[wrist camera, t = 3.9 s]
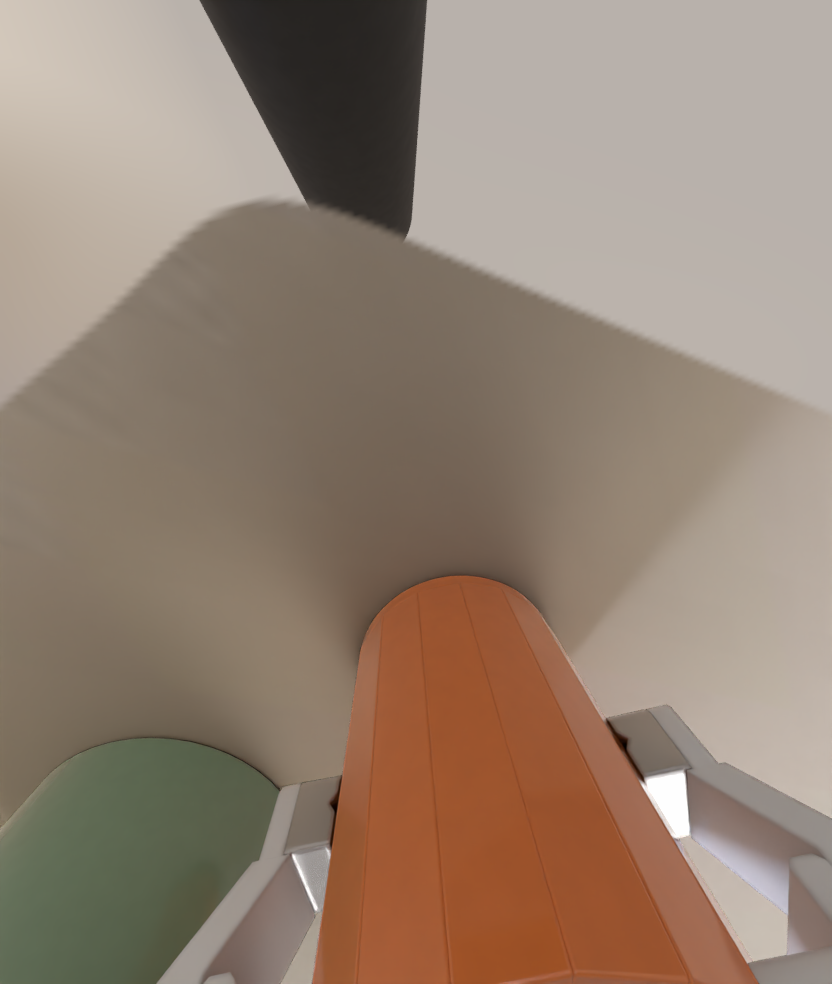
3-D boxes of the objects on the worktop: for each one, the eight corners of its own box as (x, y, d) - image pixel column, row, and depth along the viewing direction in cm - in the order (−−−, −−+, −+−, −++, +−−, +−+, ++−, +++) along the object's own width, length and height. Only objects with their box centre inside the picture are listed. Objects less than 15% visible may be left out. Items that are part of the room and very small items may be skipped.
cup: (336, 599, 13) (206, 1049, 4) (538, 554, 13) (829, 924, 4) (385, 758, 15) (365, 1311, 6) (565, 720, 14) (811, 1228, 6)
